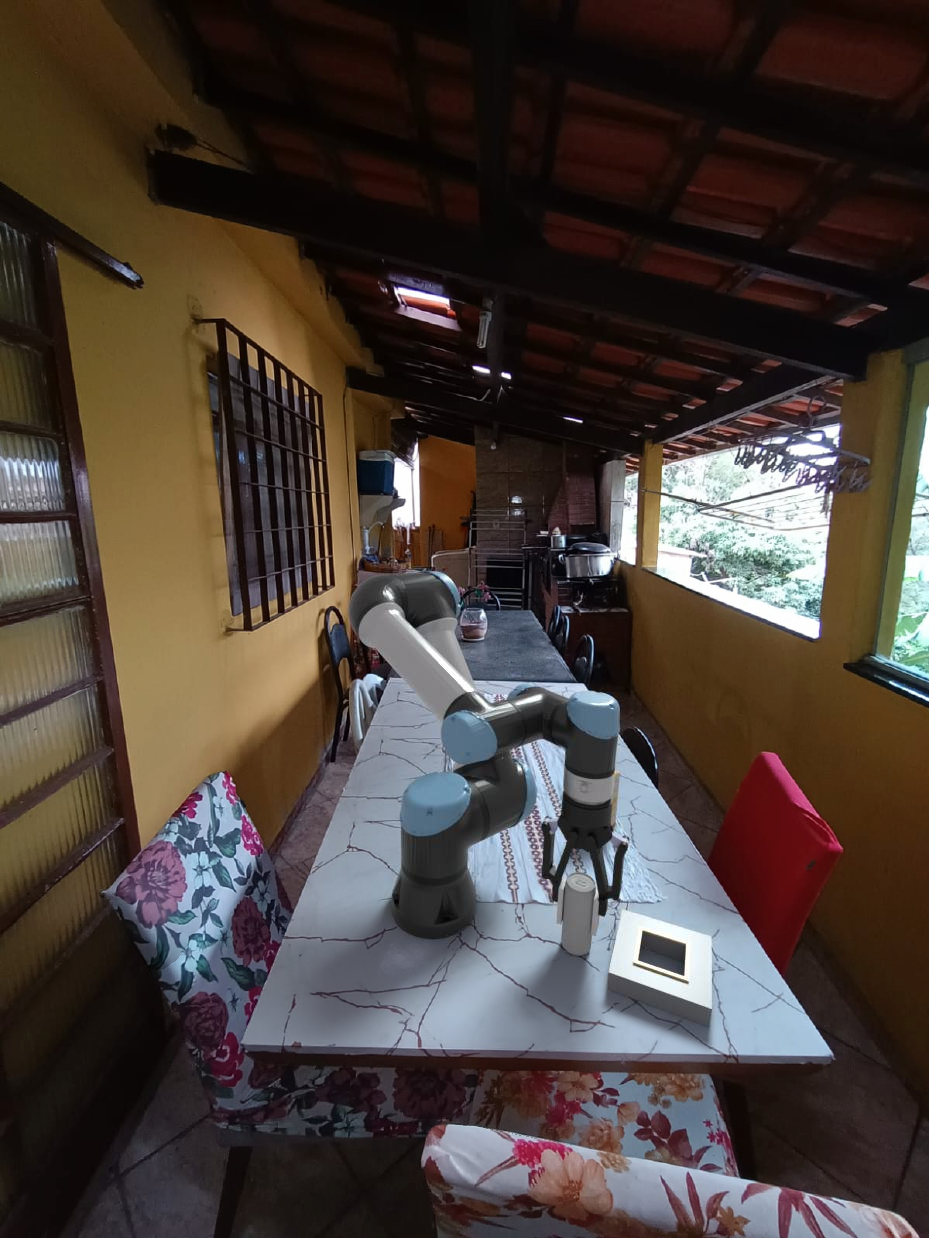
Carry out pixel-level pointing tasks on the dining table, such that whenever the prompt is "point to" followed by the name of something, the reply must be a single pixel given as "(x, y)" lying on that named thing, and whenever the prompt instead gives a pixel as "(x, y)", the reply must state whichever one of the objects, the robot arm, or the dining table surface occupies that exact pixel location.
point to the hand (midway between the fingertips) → (577, 923)
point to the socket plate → (659, 985)
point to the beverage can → (578, 913)
